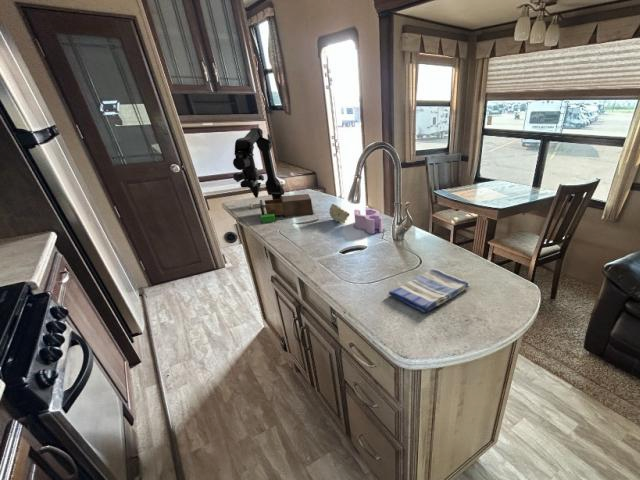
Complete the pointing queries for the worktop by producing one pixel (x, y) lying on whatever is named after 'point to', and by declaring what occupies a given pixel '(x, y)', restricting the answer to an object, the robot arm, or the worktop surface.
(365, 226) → the clip
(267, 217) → the green rectangular box
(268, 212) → the drawer
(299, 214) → the cabinet
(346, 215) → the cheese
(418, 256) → the worktop surface
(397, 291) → the dish towel
